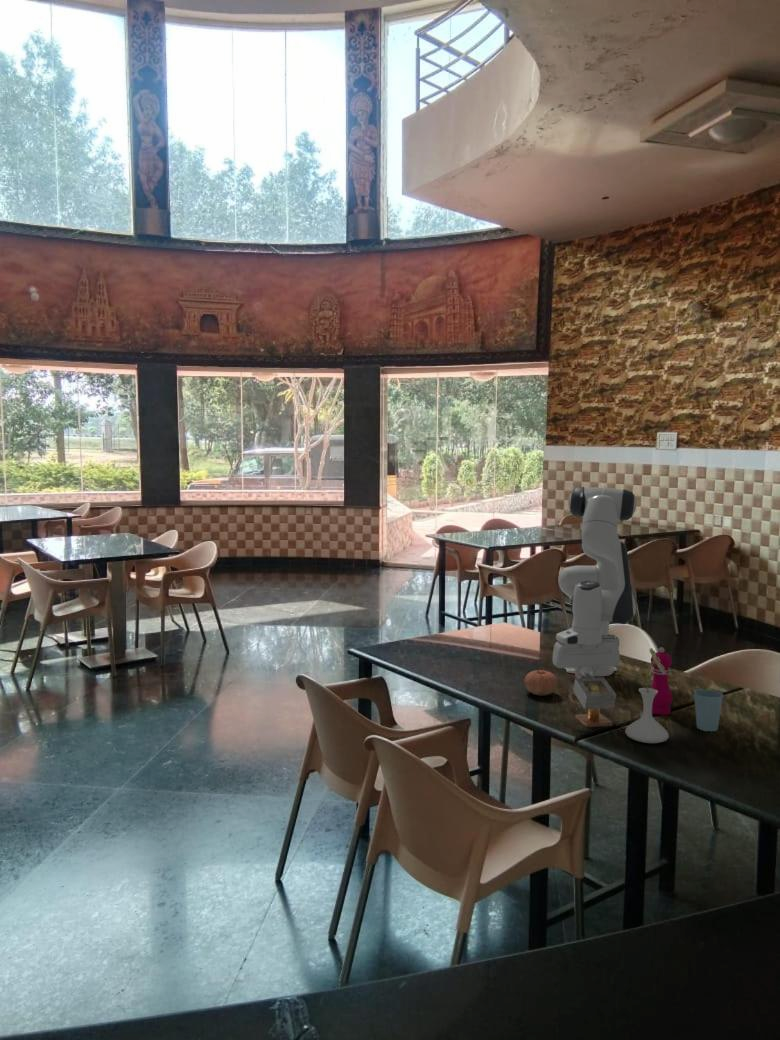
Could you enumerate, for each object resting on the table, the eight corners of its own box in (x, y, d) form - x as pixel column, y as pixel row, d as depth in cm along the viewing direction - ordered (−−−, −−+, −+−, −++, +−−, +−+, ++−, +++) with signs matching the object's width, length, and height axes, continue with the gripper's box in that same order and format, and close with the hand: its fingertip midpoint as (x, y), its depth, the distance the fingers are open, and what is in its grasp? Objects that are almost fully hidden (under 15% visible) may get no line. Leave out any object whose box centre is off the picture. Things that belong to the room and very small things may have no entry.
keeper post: (575, 717, 226) (576, 681, 225) (600, 716, 227) (601, 680, 226) (586, 727, 218) (587, 689, 217) (612, 725, 219) (613, 688, 219)
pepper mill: (656, 716, 228) (658, 650, 226) (642, 708, 235) (644, 645, 233) (677, 714, 230) (679, 649, 228) (662, 706, 237) (664, 643, 235)
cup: (688, 723, 222) (690, 688, 221) (715, 724, 221) (717, 689, 220) (697, 732, 214) (699, 696, 213) (725, 733, 213) (727, 697, 213)
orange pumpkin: (561, 699, 244) (562, 674, 244) (528, 699, 244) (528, 675, 243) (552, 689, 255) (553, 665, 254) (520, 689, 254) (521, 666, 254)
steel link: (563, 675, 234) (565, 663, 232) (591, 674, 235) (593, 662, 233) (584, 709, 218) (586, 696, 217) (613, 707, 220) (616, 694, 218)
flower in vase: (664, 750, 201) (667, 657, 199) (620, 742, 206) (623, 652, 204) (672, 735, 212) (675, 647, 210) (631, 727, 218) (633, 642, 216)
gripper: (614, 632, 232) (613, 676, 233) (551, 634, 229) (550, 679, 230) (624, 637, 226) (622, 682, 227) (558, 639, 223) (557, 685, 224)
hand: (585, 681), depth 228 cm, fingers closed on steel link
